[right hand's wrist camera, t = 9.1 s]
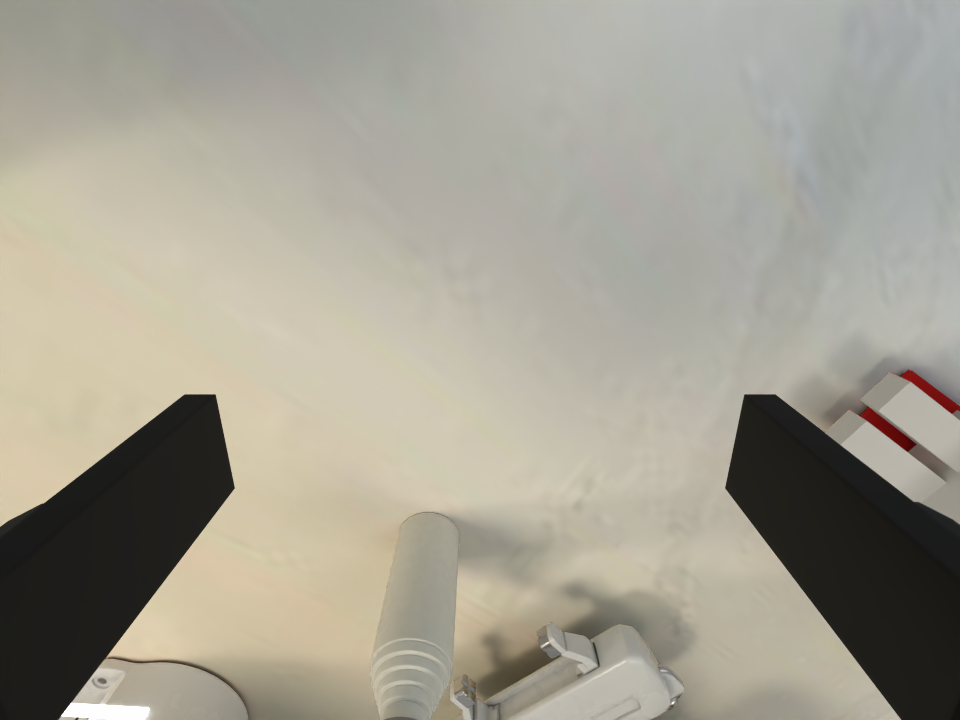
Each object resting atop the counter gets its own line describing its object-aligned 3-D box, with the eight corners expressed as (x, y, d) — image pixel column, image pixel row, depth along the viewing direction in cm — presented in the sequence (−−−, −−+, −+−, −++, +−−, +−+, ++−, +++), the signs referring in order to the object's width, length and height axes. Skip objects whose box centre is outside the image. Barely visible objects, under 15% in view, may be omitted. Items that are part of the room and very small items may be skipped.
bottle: (455, 509, 44) (439, 733, 27) (462, 558, 46) (452, 797, 29) (393, 515, 44) (338, 741, 27) (403, 563, 46) (358, 804, 29)
